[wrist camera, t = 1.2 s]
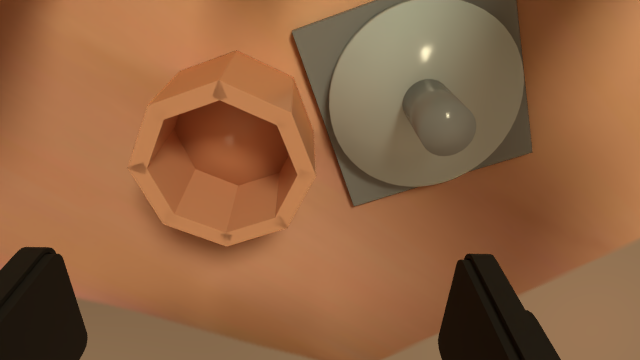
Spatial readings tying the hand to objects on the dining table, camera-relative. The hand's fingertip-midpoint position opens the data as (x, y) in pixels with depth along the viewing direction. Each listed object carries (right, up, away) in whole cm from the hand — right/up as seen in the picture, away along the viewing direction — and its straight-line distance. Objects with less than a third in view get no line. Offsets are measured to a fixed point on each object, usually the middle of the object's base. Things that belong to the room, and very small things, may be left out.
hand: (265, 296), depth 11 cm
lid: (+8, +9, +20) cm, 23 cm away
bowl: (-5, +7, +21) cm, 22 cm away
